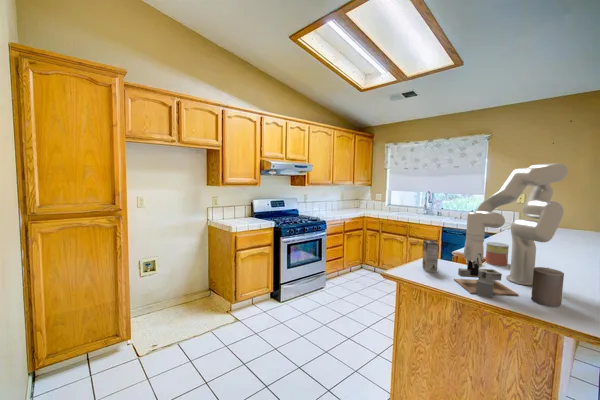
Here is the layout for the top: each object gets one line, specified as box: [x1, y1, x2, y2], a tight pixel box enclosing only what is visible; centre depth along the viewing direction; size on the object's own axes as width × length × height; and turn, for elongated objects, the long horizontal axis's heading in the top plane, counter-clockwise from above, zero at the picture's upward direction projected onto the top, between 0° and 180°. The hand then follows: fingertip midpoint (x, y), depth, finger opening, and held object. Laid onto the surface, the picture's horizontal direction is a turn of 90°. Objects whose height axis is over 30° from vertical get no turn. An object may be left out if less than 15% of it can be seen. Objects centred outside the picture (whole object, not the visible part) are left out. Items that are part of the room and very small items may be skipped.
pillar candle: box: [530, 266, 565, 308], centre depth 119 cm, size 10×10×15 cm
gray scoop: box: [457, 267, 503, 281], centre depth 139 cm, size 17×7×3 cm, turn 84°
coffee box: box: [422, 239, 440, 273], centre depth 161 cm, size 9×6×16 cm
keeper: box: [475, 277, 495, 299], centre depth 127 cm, size 7×6×6 cm
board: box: [453, 278, 519, 297], centre depth 135 cm, size 20×17×1 cm
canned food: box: [484, 241, 510, 267], centre depth 173 cm, size 11×11×12 cm
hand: (472, 273), depth 139 cm, fingers closed on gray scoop, 3 cm apart
